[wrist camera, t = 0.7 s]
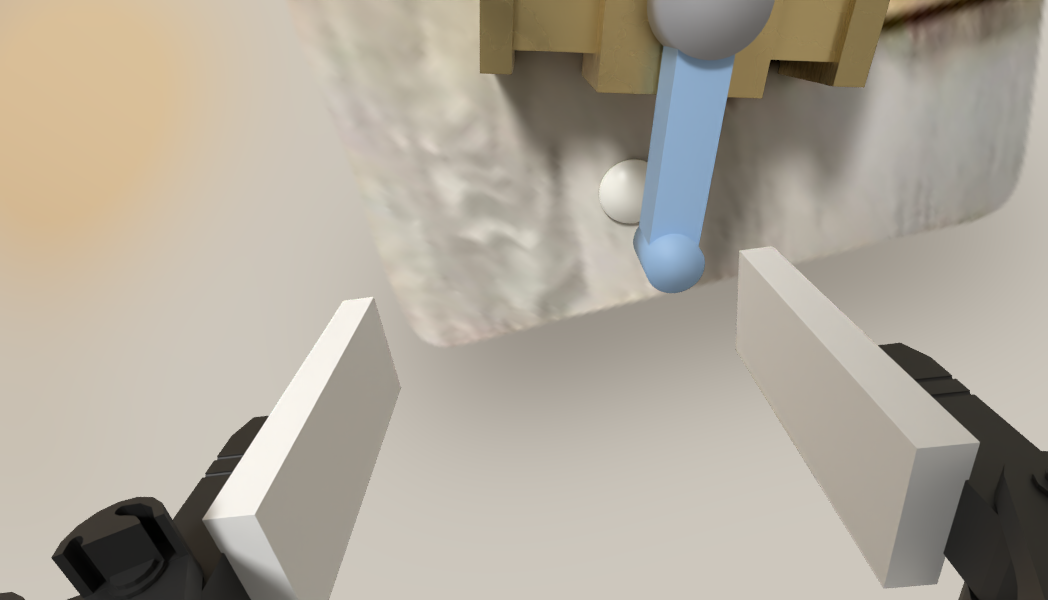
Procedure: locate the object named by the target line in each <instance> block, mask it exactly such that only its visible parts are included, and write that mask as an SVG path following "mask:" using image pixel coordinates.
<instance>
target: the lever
mask: <svg viewBox="0 0 1048 600" xmlns="http://www.w3.org/2000/svg"><path fill="white" fill-rule="evenodd" d="M774 1H775V0H647V16H648V21H649V24H650V27H651V30H652V32H653V34H654V35H655V37H656V38H657V40H658V41H659V42H660V43H661V44H662V45H663V53H662V61H661V68H660V75H659V83H658V90H657V97H656V105H655V112H654V119H653V127H652V134H651V141H650V149H649V156H648V164H647V171H646V178H645V186H644V193H643V200H642V208H641V215H640V222H639V227H638V229H637V230H636V232H635V235H634V239H633V245H634V249H635V252H636V254H637V256H638V258H639V260H640V263H641V265H642V267H643V269H644V271H645V274H646V276H647V278H648V280H649V282H650V283H651V284H652V286H654V287H655V288H656V289H658V290H660V291H662V292H666V293H678V292H682V291H685V290H687V289H689V288H690V287H692V286H693V285H694V284H696V283H697V282H698V280H699V279H700V278H701V276H702V274H703V271H704V267H705V259H704V255H703V253H702V251H701V250H700V248H699V242H700V237H701V231H702V226H703V221H704V216H705V210H706V205H707V200H708V195H709V189H710V184H711V179H712V174H713V169H714V163H715V158H716V153H717V148H718V142H719V137H720V132H721V127H722V122H723V116H724V111H725V106H726V101H727V95H728V90H729V85H730V80H731V74H732V69H733V64H734V59H735V54H736V53H738V52H740V51H741V50H743V49H744V48H746V47H747V46H748V45H749V44H750V43H752V42H753V41H754V40H755V39H756V37H757V36H758V35H759V34H760V32H761V31H762V29H763V28H764V26H765V25H766V23H767V21H768V19H769V17H770V14H771V12H772V9H773V5H774Z"/></svg>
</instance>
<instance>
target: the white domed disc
mask: <svg viewBox="0 0 1048 600" xmlns="http://www.w3.org/2000/svg"><path fill="white" fill-rule="evenodd" d="M647 164H648V162H646V161H643V160H638V159H630V160H625V161H622V162H619V163H617V164H616V165H614V166H613V167H611V168H610V169H609V170H608V171H607V173H606V174H605V175H604V177H603V179H602V181H601V184H600V188H599V199H600V203H601V205H602V208H603V209H604V211H605V212H606V214H607V215H608V216H609V217H611V218H612V219H614V220H616V221H618V222H622V223H637V222H640V215H641V208H642V200H643V193H644V186H645V178H646V171H647Z"/></svg>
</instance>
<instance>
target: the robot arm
mask: <svg viewBox="0 0 1048 600" xmlns="http://www.w3.org/2000/svg"><path fill="white" fill-rule="evenodd" d="M736 326H737V327H736V351H737V353H738V354H739V356H740V358H741V359H742V361H743V362H744V364H745V366H746V367H747V369H748V371H749V372H750V374H751V375H752V377H753V379H754V380H755V381H756V383H757V385H758V387H759V388H760V390H761V392H762V393H763V395H764V396H765V398H766V400H767V401H768V403H769V404H770V406H771V407H772V409H773V411H774V413H775V414H776V416H777V417H778V419H779V421H780V422H781V424H782V425H783V427H784V429H785V430H786V431H787V433H788V435H789V437H790V438H791V440H792V442H793V443H794V445H795V446H796V448H797V450H798V451H799V453H800V454H801V456H802V458H803V459H804V461H805V462H806V464H807V466H808V467H809V469H810V470H811V472H812V473H813V475H814V477H815V478H816V480H817V482H818V483H819V485H820V487H821V488H822V490H823V491H824V493H825V495H826V496H827V498H828V499H829V501H830V503H831V504H832V506H833V508H834V509H835V511H836V513H837V514H838V516H839V517H840V519H841V521H842V522H843V524H844V525H845V527H846V529H847V530H848V532H849V533H850V535H851V537H852V538H853V540H854V541H855V543H856V545H857V546H858V548H859V549H860V551H861V553H862V554H863V556H864V558H865V559H866V561H867V563H868V564H869V566H870V567H871V569H872V571H873V572H874V574H875V575H876V577H877V578H878V580H879V582H880V583H881V585H882V587H883V588H896V587H908V586H920V585H932V584H937V582H938V579H939V576H940V572H941V569H942V566H943V563H944V559H945V556H946V558H947V559H948V560H949V561H950V563H951V564H952V565H953V567H954V568H955V569H956V571H957V572H958V573H959V574H960V576H961V577H962V578H963V579H964V581H965V582H964V585H963V588H962V591H961V594H960V597H959V600H1048V451H1040V450H1039V449H1038V448H1037V447H1035V446H1034V445H1033V444H1032V443H1031V442H1029V440H1027V439H1026V438H1025V437H1024V436H1023V435H1021V434H1020V433H1019V432H1018V431H1017V430H1015V429H1014V428H1013V427H1012V426H1011V425H1010V424H1008V423H1007V422H1006V421H1005V420H1004V419H1003V418H1001V417H1000V416H999V415H998V414H997V413H995V412H994V411H993V410H992V409H991V408H990V407H989V406H987V405H986V404H985V403H984V402H982V401H981V400H980V399H979V398H978V397H977V396H976V395H971V394H970V390H968V389H967V388H966V387H965V386H964V385H963V384H961V383H960V382H959V381H958V380H957V379H952V375H951V374H949V372H947V371H946V370H945V369H944V368H943V367H942V366H940V365H939V364H938V363H937V362H936V361H934V360H933V359H932V358H931V357H929V356H927V355H925V354H923V353H921V352H919V351H917V350H914V349H912V348H910V347H908V346H906V345H904V344H902V343H895V344H887V345H877V344H876V343H875V342H874V341H872V340H871V339H870V338H869V337H868V336H867V335H866V334H865V333H864V332H863V331H862V330H861V329H860V328H859V327H858V326H857V325H855V324H854V323H853V322H852V321H851V320H850V319H849V318H848V317H847V316H846V315H845V314H844V313H843V312H842V311H841V310H840V309H839V308H838V307H836V306H835V305H834V304H833V303H832V302H831V301H830V300H829V299H828V298H827V297H826V296H825V295H824V294H823V293H822V292H821V291H820V290H818V289H817V288H816V287H815V286H814V285H813V284H812V283H811V282H810V281H809V280H808V279H807V278H806V277H805V276H804V275H803V274H802V273H801V272H799V271H798V270H797V269H796V268H795V267H794V266H793V265H792V264H791V263H790V262H789V261H788V260H787V259H786V258H785V257H784V256H783V255H781V254H780V253H779V252H778V251H777V250H776V249H775V248H774V247H773V246H771V247H763V248H755V249H748V250H740V251H739V272H738V299H737V324H736ZM400 389H401V386H400V383H399V380H398V376H397V373H396V370H395V366H394V363H393V360H392V357H391V353H390V350H389V346H388V343H387V340H386V336H385V333H384V330H383V326H382V323H381V320H380V316H379V313H378V310H377V307H376V303H375V300H374V297H368V298H360V299H352V300H345V301H343V302H342V304H341V305H340V307H339V308H338V310H337V311H336V313H335V314H334V316H333V318H332V319H331V321H330V322H329V324H328V326H327V327H326V328H325V330H324V332H323V333H322V335H321V336H320V338H319V339H318V341H317V342H316V344H315V346H314V347H313V349H312V350H311V352H310V353H309V355H308V356H307V358H306V359H305V361H304V363H303V364H302V366H301V367H300V369H299V370H298V372H297V374H296V375H295V377H294V378H293V380H292V381H291V383H290V384H289V386H288V387H287V389H286V391H285V392H284V394H283V395H282V397H281V398H280V400H279V401H278V403H277V404H276V406H275V407H274V409H273V411H272V412H271V414H270V415H269V416H264V417H254V418H253V419H251V420H250V421H249V422H248V423H247V424H245V425H244V426H243V427H242V428H241V429H239V430H238V431H237V432H236V433H235V434H233V435H232V436H231V438H230V439H229V441H228V442H227V443H226V445H225V446H224V448H223V449H222V451H221V452H220V453H219V455H218V456H217V457H218V459H217V460H215V461H214V462H213V463H212V465H211V466H210V467H209V469H208V470H207V472H206V473H205V474H206V477H205V478H202V479H201V480H200V482H199V483H198V485H197V486H196V487H195V489H194V491H193V492H192V493H191V495H190V496H189V497H188V499H187V500H186V502H185V503H184V504H183V506H182V507H181V509H180V510H179V512H178V513H177V514H176V516H175V517H174V519H173V520H172V518H171V517H170V515H169V513H168V512H167V510H166V508H165V507H164V505H163V504H162V502H160V501H158V500H156V499H155V498H153V497H136V498H132V499H128V500H125V501H121V502H118V503H116V504H114V505H112V506H109V507H107V508H105V509H103V510H101V511H99V512H97V513H96V514H94V515H93V516H92V517H90V518H88V519H87V520H85V521H84V522H83V523H81V524H80V525H78V526H77V527H76V528H75V529H74V530H73V531H72V532H71V533H70V534H69V535H68V536H67V537H66V538H65V539H64V540H63V541H62V542H61V543H60V545H59V546H58V548H57V549H56V551H55V553H54V555H53V556H52V559H53V561H54V562H55V563H56V564H57V566H58V567H59V568H60V569H61V571H62V572H63V573H64V574H65V576H66V577H67V578H68V580H69V581H70V582H71V583H72V584H73V586H74V587H75V588H76V590H77V591H78V592H79V593H80V595H79V596H76V597H73V598H70V599H68V600H329V598H330V595H331V592H332V589H333V586H334V583H335V580H336V577H337V574H338V571H339V568H340V565H341V562H342V560H343V556H344V554H345V551H346V548H347V545H348V542H349V539H350V536H351V533H352V530H353V527H354V524H355V521H356V518H357V515H358V512H359V509H360V507H361V503H362V501H363V498H364V495H365V492H366V489H367V486H368V483H369V480H370V477H371V474H372V471H373V468H374V465H375V463H376V460H377V456H378V454H379V451H380V447H381V445H382V442H383V439H384V436H385V433H386V430H387V427H388V424H389V421H390V418H391V415H392V413H393V410H394V407H395V404H396V401H397V398H398V395H399V392H400ZM0 600H25V599H24V598H23V597H21V596H19V595H17V594H15V593H13V592H8V593H0Z"/></svg>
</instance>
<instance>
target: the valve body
mask: <svg viewBox="0 0 1048 600" xmlns="http://www.w3.org/2000/svg"><path fill="white" fill-rule="evenodd" d="M889 2H890V0H775V1H774V5H773V9H772V12H771V14H770V17H769V19H768V21H767V23H766V25H765V26H764V28H763V29H762V31H761V32H760V34H759V35H758V36H757V37H756V39H755V40H754V41H753V42H752V43H750V44H749V45H748V46H747V47H746V48H744V49H743V50H741V51H740V52H738V53H736V54H735V59H734V64H733V69H732V74H731V80H730V85H729V90H728V95H727V97H738V98H762V96H763V92H764V87H765V83H766V78H767V74H768V69H769V64H770V60H781V62H780V66H779V71H778V74H782V75H787V76H791V77H795V78H800V79H804V80H808V81H812V82H817V83H821V84H825V85H829V86H838V87H864V86H865V83H866V80H867V76H868V73H869V69H870V66H871V63H872V59H873V56H874V53H875V49H876V46H877V42H878V39H879V36H880V32H881V29H882V26H883V22H884V19H885V15H886V12H887V9H888V5H889ZM515 50H525V51H552V52H579V53H583V62H582V76H583V77H584V78H585V79H586V80H587V81H588V83H589V84H590V85H591V86H592V87H593V88H594V89H595V90H596V92H601V93H628V94H656V95H657V90H658V83H659V75H660V68H661V61H662V53H663V45H662V44H661V43H660V42H659V41H658V40H657V38H656V37H655V35H654V34H653V32H652V30H651V27H650V24H649V21H648V16H647V0H480V73H486V74H512V71H513V67H514V64H515Z"/></svg>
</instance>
